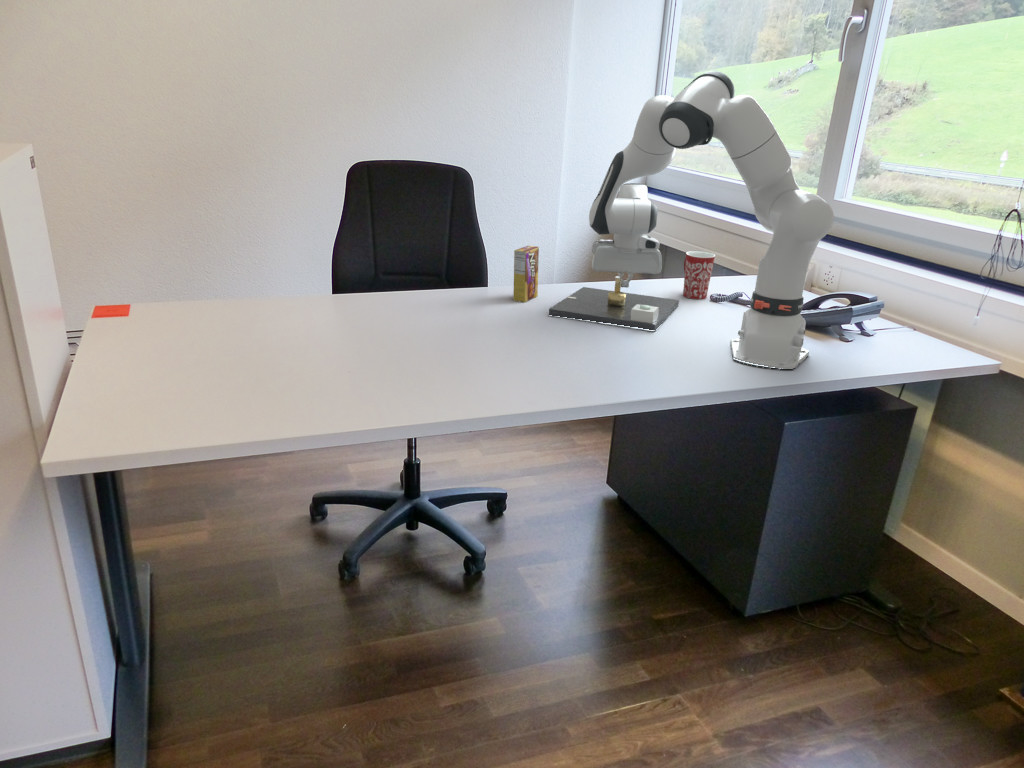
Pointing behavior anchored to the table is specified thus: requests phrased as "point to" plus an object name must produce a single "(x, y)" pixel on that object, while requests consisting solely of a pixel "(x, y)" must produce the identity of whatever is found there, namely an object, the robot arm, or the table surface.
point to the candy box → (526, 273)
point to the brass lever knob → (617, 294)
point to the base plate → (615, 308)
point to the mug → (697, 274)
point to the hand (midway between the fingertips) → (624, 287)
